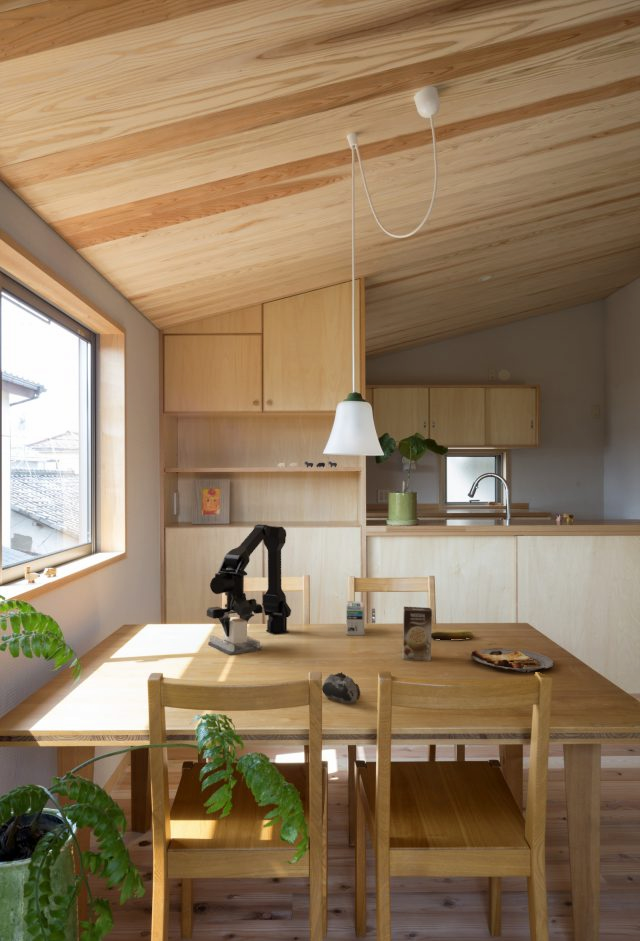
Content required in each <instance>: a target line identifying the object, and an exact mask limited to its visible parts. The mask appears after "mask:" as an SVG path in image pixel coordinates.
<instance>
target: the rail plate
mask: <svg viewBox="0 0 640 941" xmlns="http://www.w3.org/2000/svg"><path fill="white" fill-rule="evenodd" d="M207 643H208V646H210V647H212V648H214V649H216V650H218V651H220V652H223V653H224V654H226V655H228V656H233V655H238V654H237V653H240V654H244V653H243V652H246V653H251V652H250V651H253V652H257V651H256V650H259V651H262V646H261V641H260V640H257V639H255V638H252V637H250V636H248V635H247V642H242V643H235V644H233V643H231V642H229V641H227V640H225V639H223V638H222V639H221V638H220V637H218V636H215V635H210V636H209V641H208V642H207ZM232 654H233V655H232Z"/></svg>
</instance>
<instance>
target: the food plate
mask: <svg viewBox="0 0 640 941" xmlns="http://www.w3.org/2000/svg"><path fill="white" fill-rule="evenodd" d="M470 657H471V659H473V660H474V661H475V662H476V663H479V664H482V665H488V666H490V667H492V666H493V668H499V669H502V670H508V669H510V670H512V671H516V672H522V673H525V672H526V671H527V672H526V673H529V672H532V671H537V670H542V669H548V668H552V667H553V666H554V660H553V659H552V658H551V657H549V656H547V655H543V654H541V653H539V652H534V651H533V652H532V651H529V650H525V649H523V650H522V649H515V648H514V649H513V648H504V647H496V648H486V649H480V650H473V651H471V654H470ZM529 659H533V660H529ZM534 660H535V661H537V662H538V663H540V667H539V666H537V667H528V668H525V669H524V668H523V667H524V665H537V663H535V662H534ZM514 661H516V662H514ZM509 662H513V664H512V663H509ZM493 664H494V665H493Z"/></svg>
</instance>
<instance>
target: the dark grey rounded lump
mask: <svg viewBox="0 0 640 941" xmlns="http://www.w3.org/2000/svg"><path fill="white" fill-rule="evenodd" d="M321 691H323V692H322V694H324V696H325V697H326V698H328V699H330V700H332V699H333V701H336V702H338V703H341V702H343V704H345V703H346V704H349V703H350V704H351V703H356V702H357V701H358V700H359V699H360V697H361V690H360V686H359V684H358V683H356V682H355V681H354V680H353V678H352V677H350V676H349V675H346V674H345V673H343V672H337V673H335V674H333V673H331V674H329V675H328V676H327V678H326V679H325V680H324V682H323V684H322V686H321Z"/></svg>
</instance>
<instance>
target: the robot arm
mask: <svg viewBox="0 0 640 941" xmlns="http://www.w3.org/2000/svg"><path fill="white" fill-rule="evenodd" d="M286 538H287V531H286V529H285V528H284V527H283V526H276V525H273V526H272V525H268V524H262V523H261V524H255V525H254V527H253V529H252V530H251V531H250V533H249V534H248V535H247V536H246V538H245V539H244V540H243V541H242V542H241V543H240V545H239V546H237V547H235V548H233V549H230V550H229V551H228V552H227V553H226V554H225V555H224V557H223V559H222V562H221V564H220V567H219V569H218V571H217V572H215V573H214V577H213V578H212V579H211V581H210V583H209V587H210V590H211V592H212V593H213V594H216V595H220V594H224V595H225V596H226V603H225V604H224V608H222V607H220V606H213V607H208V608H207V609H206V616H207V617H209V618H211V619H215V620H216V619H218V620H219V622H220V623H221V626H222V630H223V629H224V631H225V634H226V636H227V637H229V621H230V618H231V617H229V615H230V614H236V615H238V616H239V618H241V619H243V620H246V621H247V624H248V622H249V621H250V619H251V618H252V617H254V616H255V614H256V615H257V614H262V613H263V612H264V615H265V616H268V617H267V618H268V619H267V622H266V623H267V624H266V625H267V626H266V630H265V632H267V633H270V634H272V635H280V634H288V633H290V630H288V629H287V626H288V625H287V624H288V622H287V621H288V618H289V617H290V616H291V613H292V609H291V608H290V606H289V604H288V603H287V597H286V594H285V592H284V591H283V589H282V549H283V547H285V544H286V540H287V539H286ZM262 541H263V545H264V546H265V548H266V550H267V590H266V592H265V593H263V594H262V604H260V603H258V602H257V599H256V598H250V599H247V596H246V593H245V592H244V591H245V588H244V586H245V584H244V582H245V576H248V572H247V571H245V570H246V568H247V566H248V564H249V563H250V562H251V560H250V559H251V558H250V557H251V555H252V554H253V552H254V551H255V550H256V548H257V547H258V546H259V545H260V544H261V543H262Z"/></svg>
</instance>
